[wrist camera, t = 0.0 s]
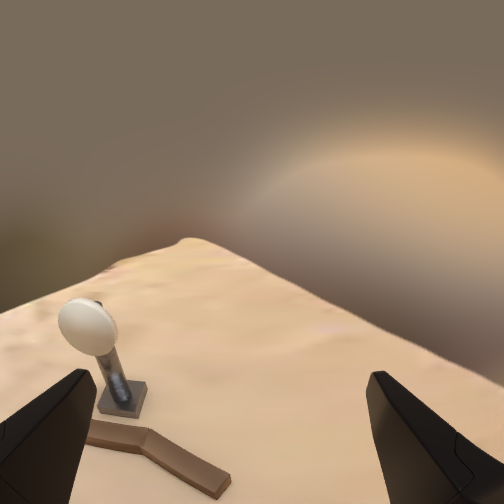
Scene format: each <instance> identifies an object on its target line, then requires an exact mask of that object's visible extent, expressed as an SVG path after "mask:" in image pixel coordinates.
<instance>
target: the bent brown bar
mask: <svg viewBox="0 0 504 504" xmlns="http://www.w3.org/2000/svg"><path fill="white" fill-rule="evenodd" d="M85 444H88V445H92V446H97V447H102V448H107V449H112V450H117V451H123V452H129V453H135V454H141V455H145V456H146V457H148V458H149V459H150V460H152V461H153V462H155V463H156V464H158V465H159V466H161V467H162V468H164V469H165V470H167V471H168V472H170V473H172V474H173V475H175V476H176V477H178V478H180V479H181V480H183V481H185V482H186V483H188V484H190V485H191V486H193V487H195V488H196V489H198V490H200V491H202V492H203V493H205V494H207V495H209V496H211V497H212V498H214V499H216V500H217V499H218V498H219V497H220V496H221V494H222V493H223V492H224V491H225V489H226V488H227V487H228V486H229V484H230V483H231V477H230V474H229V473H227V472H225V471H223V470H221V469H219V468H217V467H215V466H213V465H211V464H210V463H208V462H206V461H204V460H202V459H200V458H199V457H197V456H195V455H193V454H191V453H190V452H188V451H186V450H185V449H183V448H181V447H179V446H178V445H176V444H174V443H173V442H171V441H170V440H168V439H166V438H165V437H163V436H162V435H160V434H158V433H157V432H155V431H154V430H152V429H150V430H149V428H145V427H137V426H130V425H123V424H116V423H110V422H104V421H99V420H94V419H91V423H90V428H89V432H88V435H87V439H86V442H85Z"/></svg>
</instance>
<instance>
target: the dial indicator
mask: <svg viewBox="0 0 504 504" xmlns="http://www.w3.org/2000/svg"><path fill="white" fill-rule="evenodd" d="M58 324H59V328H60V330H61V333H62V334H63V336H64V337H65V339H66V340H67V341H68V342H69V343H70V344H71V345H72V346H73V347H74V348H76V349H77V350H79V351H81V352H83V353H85V354H88V355H91V356H95V357H96V360H97V363H98V365H99V368H100V370H101V373H102V375H103V377H104V380H105V382H106V387H105V389H104V391H103V394H102V396H101V398H100V400H99V403H98V405H97V408H98V410H99V411H100V413H104V414H110V415H117V416H123V417H131V418H138V417H139V414H140V410H141V407H142V404H143V401H144V398H145V395H146V392H147V389H148V388H147V385H146V382H141V381H131V380H126V377H125V375H124V372H123V369H122V366H121V363H120V361H119V358H118V355H117V352H116V349H115V346H114V344H115V343H116V340H117V337H118V330H117V326H116V323H115V321H114V320H113V318H112V316H111V315H110V314H109V313H108V312H107V310H105V309H104V308H103V306H102V303H101V302H99V301H92V300H89V299H86V298H73V299H71V300H69V301H68V302H67V303H66V304H65V305H64V306H63V307H62V309H61V310H60V312H59V315H58Z"/></svg>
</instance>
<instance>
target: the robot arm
mask: <svg viewBox="0 0 504 504" xmlns="http://www.w3.org/2000/svg"><path fill="white" fill-rule="evenodd" d="M96 394H97V388H96V385H95V383H94V381H93V378H92V376H91V374H90V372H89V371H88V370H86V369H76V370H74V371H73V372H71V373H70V374H69V375H67V376H66V377H64V378H63V379H62V380H60V381H59V382H57V383H56V384H55V385H53V386H52V387H50V388H49V389H48V390H46V391H45V392H43V393H42V394H41V395H39V396H38V397H37V398H35V399H34V400H32V401H31V402H30V403H28V404H27V405H25V406H24V407H23V408H21V409H20V410H18V411H17V412H16V413H14V414H13V415H11V416H10V417H9V418H7V419H6V421H3V422H2V423H0V504H69V500H70V496H71V492H72V488H73V484H74V480H75V477H76V473H77V469H78V466H79V462H80V459H81V455H82V452H83V448H84V445H85V442H86V439H87V435H88V432H89V428H90V423H91V418H92V413H93V408H94V403H95V399H96ZM366 398H367V404H368V410H369V416H370V422H371V429H372V435H373V439H374V443H375V446H376V450H377V454H378V457H379V461H380V465H381V468H382V472H383V476H384V480H385V483H386V487H387V491H388V495H389V499H390V503H391V504H504V464H503V463H501V462H500V461H498V460H497V459H495V458H493V457H492V456H490V455H489V454H487V453H486V452H484V451H483V450H481V449H480V448H478V447H477V446H476V445H474V444H473V443H472V442H470V441H469V440H468V439H467V438H465V437H464V436H463V435H462V434H460V433H459V432H457V431H456V430H455V429H454V428H453V427H452V426H451V425H449V424H448V423H447V422H446V421H445V420H443V419H442V418H441V417H440V416H439V415H437V414H436V413H435V412H434V411H433V410H431V409H430V408H429V407H428V406H426V405H425V404H424V403H423V402H422V401H420V400H419V399H418V398H417V397H416V396H414V395H413V394H412V393H411V392H410V391H408V390H407V389H406V388H405V387H404V386H402V385H401V384H400V383H399V382H398V381H396V380H395V379H394V378H393V377H392V376H390V375H389V374H388V373H387V372H385V371H376V372H372V373H371V375H370V379H369V382H368V385H367V389H366Z"/></svg>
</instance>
